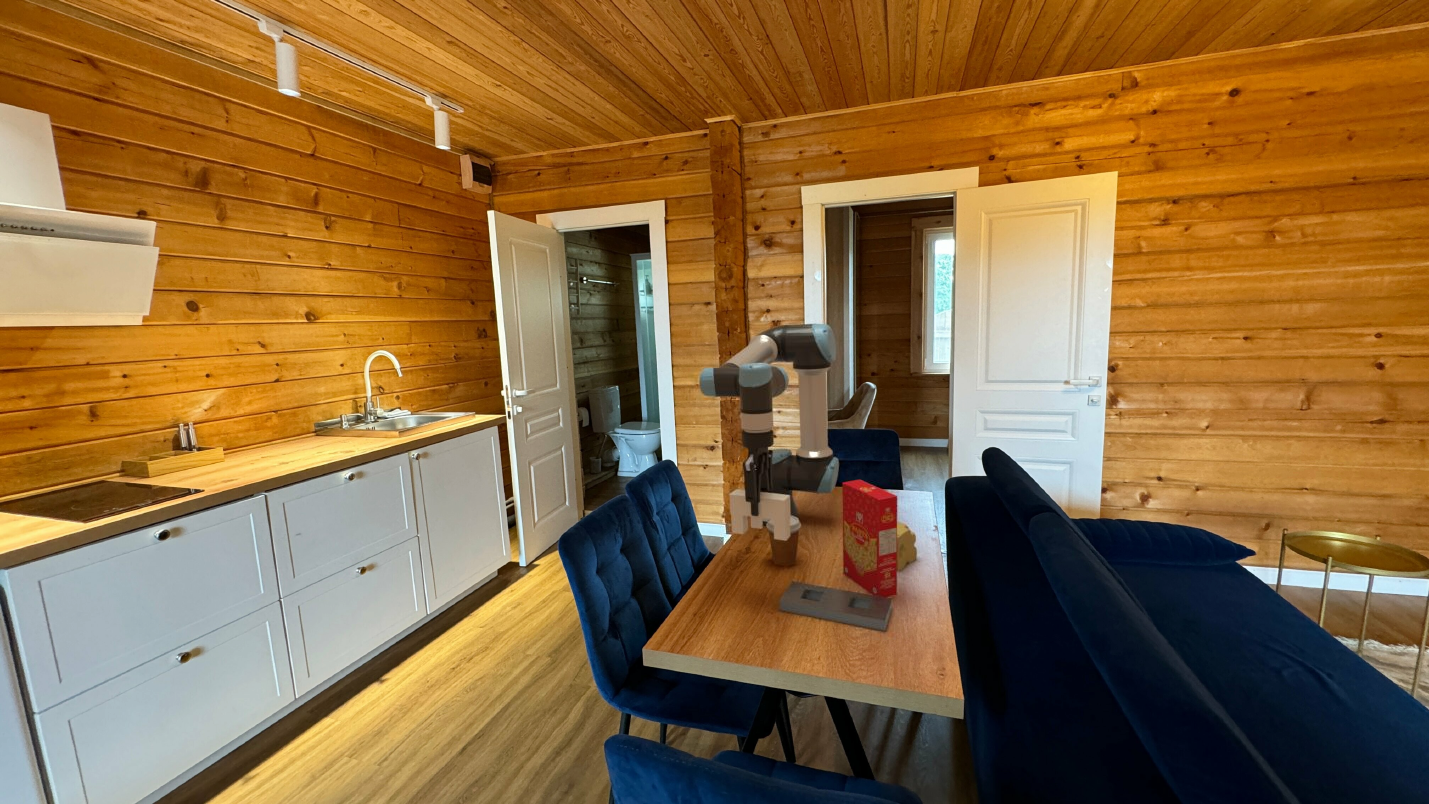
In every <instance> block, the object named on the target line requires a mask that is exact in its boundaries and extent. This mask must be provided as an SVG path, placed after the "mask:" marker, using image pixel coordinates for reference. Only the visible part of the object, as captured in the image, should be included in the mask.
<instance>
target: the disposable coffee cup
mask: <svg viewBox="0 0 1429 804" xmlns="http://www.w3.org/2000/svg"><path fill="white" fill-rule="evenodd" d="M765 526H766V528H767V530H768V536H769V542H770V548H771V555H772V560H773V561H772V562H773V563H774V564H775V565H778V566H780V567H789V566H790V567H791V566H792V565H795V564H796V562H797V556H798V555H797V553H798V545H799V544H798V543H799V535H800V529H801V527H802V523H801V522H800V520H799V517H798V518H796V517H794V516H790V537H789V538H788V539H787V540H786V541H784V540H778V539H774V520H772V519H770V521H769V522H768V523H767V524H766V525H765Z"/></svg>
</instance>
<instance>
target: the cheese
mask: <svg viewBox="0 0 1429 804" xmlns="http://www.w3.org/2000/svg"><path fill="white" fill-rule="evenodd" d="M916 540H917V538H916V533H915V532H913V531H911V530H910V528H909V526H908V525H907V524H905V523H903V522H900V521H897V572H900V571H901V570H903V569H904V568H905V567H906V565H907V564H911V563H912V562H914V561H916V560H917V556H918V549H917V547H916V546H915V544H916Z"/></svg>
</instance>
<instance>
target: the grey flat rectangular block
mask: <svg viewBox="0 0 1429 804" xmlns="http://www.w3.org/2000/svg"><path fill="white" fill-rule="evenodd" d="M778 603H779V605H778V607H779V611H781V612H785V613H789V614H796V615H800V616H806V617H812V618H816V619H820V620H821V619H822V620H824V621H825V620H826V621H831V622H836V623H841V624H845V625H851V626H856V627H861V628H867V629H871V630H877V631H880V632H881V631H882V632H886V631H887V627H888V623H889V620H890V617H891V614H892V611H893V598H892V597H881V596H875V595H872V594H870V593H869V594H867V593H865V592H864V593H863V592H856V591H851V590H845V589H841V588H835V587H827V586H823V585H816V584H810V583H803V582H798V581H794V580H793V581H792V580H791V582H790V584H789V585H788V587H787V588H786V589H785V591H784V593H783V594H782V596H781V597H780V599H779V600H778Z"/></svg>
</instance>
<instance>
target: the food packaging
mask: <svg viewBox="0 0 1429 804" xmlns="http://www.w3.org/2000/svg"><path fill="white" fill-rule="evenodd" d="M841 488H842V491H841V492H842V551H843V552H842V558H843V559H842V563H843V565H842V567H843V569H842V571H843V575H844V576H846V577H847V578H849V579H851V581H853V582H854V583H855V584H857V585H858V586H859V587H861V588H862V589H864V590H865V591H867V592H868V593H869V594H870V595H875V596H881V597H887V598H891V597H893V596H896V595H898V594H897V593H898V592H897V591H898V590H897V589H898V588H897V587H898V574H897V573H898V571H897V522H898V495H896V494H894V493H892V492H889V491H887V490H884V489H882V488H880V487H877V486H876V485H873V484H871V483H868V482H866V481H864V480H862V479H855V480H850V481H845V482H842V487H841Z"/></svg>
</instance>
